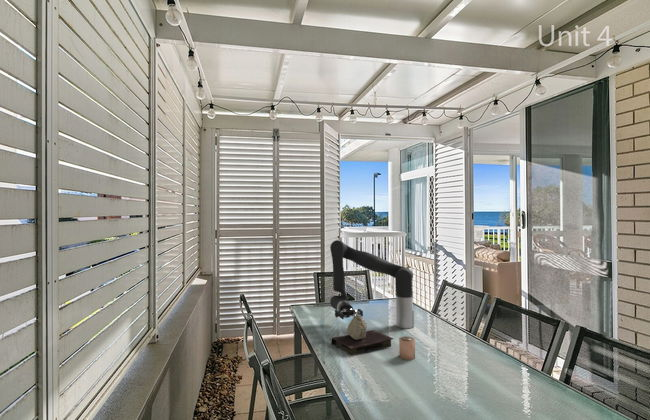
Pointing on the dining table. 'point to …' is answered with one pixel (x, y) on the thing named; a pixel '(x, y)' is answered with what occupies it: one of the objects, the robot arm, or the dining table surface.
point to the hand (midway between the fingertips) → (351, 316)
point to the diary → (362, 342)
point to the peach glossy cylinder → (407, 348)
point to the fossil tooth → (357, 328)
